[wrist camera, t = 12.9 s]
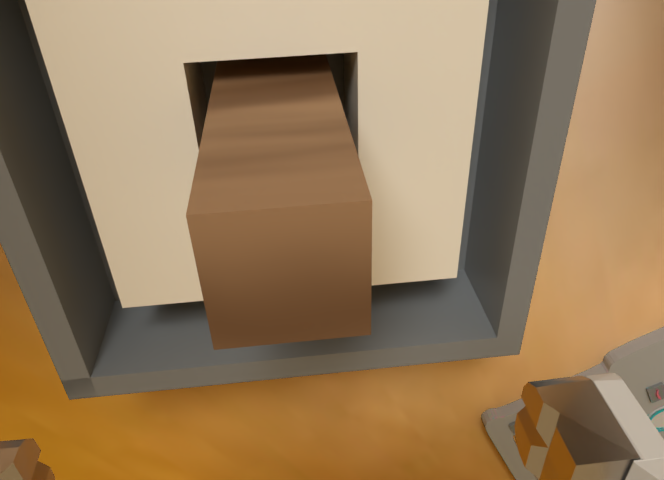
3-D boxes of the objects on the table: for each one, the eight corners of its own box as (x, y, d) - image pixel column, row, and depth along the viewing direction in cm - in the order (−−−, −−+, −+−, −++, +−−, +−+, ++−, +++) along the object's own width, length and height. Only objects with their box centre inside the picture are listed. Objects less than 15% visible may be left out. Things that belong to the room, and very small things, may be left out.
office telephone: (818, 487, 44) (573, 573, 48) (792, 458, 47) (559, 542, 50) (815, 297, 32) (482, 435, 36) (779, 268, 34) (469, 401, 38)
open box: (-90, -246, 17) (-232, -285, 12) (555, -264, 18) (662, -304, 14) (101, 308, 30) (69, 399, 25) (478, 273, 31) (519, 354, 26)
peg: (219, 51, 22) (185, 215, 12) (322, 45, 22) (372, 200, 12) (232, 146, 24) (214, 350, 14) (326, 139, 24) (370, 334, 15)
